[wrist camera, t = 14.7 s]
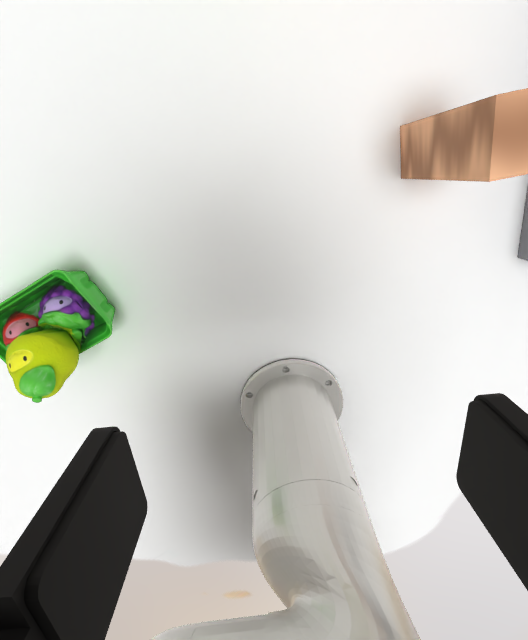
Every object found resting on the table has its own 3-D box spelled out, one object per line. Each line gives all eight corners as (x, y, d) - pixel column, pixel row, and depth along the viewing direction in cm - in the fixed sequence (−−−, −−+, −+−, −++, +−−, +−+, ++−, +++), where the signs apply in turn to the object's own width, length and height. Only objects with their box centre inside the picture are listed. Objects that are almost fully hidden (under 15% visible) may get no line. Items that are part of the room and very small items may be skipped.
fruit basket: (85, 253, 34) (10, 288, 23) (139, 322, 37) (95, 379, 27) (3, 305, 36) (-99, 358, 25) (61, 366, 39) (-8, 435, 29)
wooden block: (447, 169, 31) (565, 166, 19) (401, 178, 32) (489, 181, 20) (449, 115, 30) (580, 76, 18) (400, 126, 30) (496, 95, 18)
